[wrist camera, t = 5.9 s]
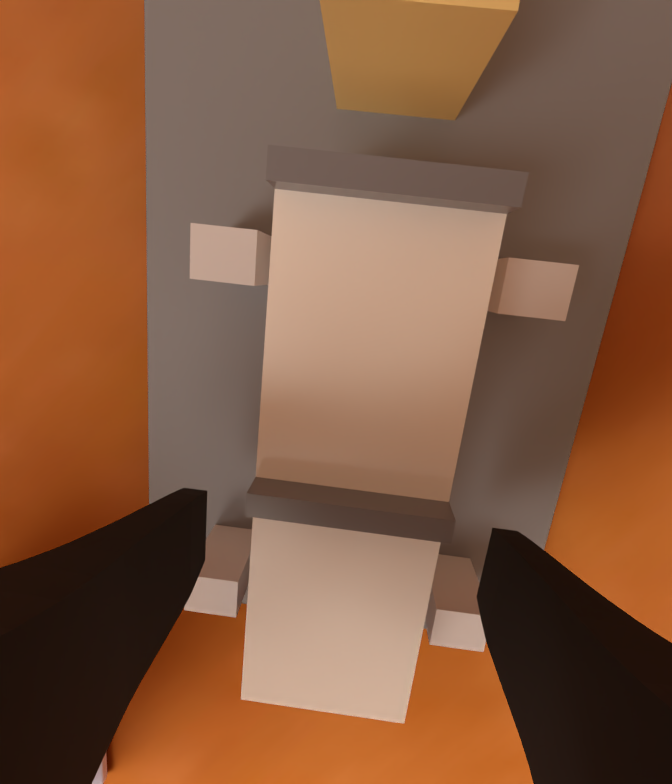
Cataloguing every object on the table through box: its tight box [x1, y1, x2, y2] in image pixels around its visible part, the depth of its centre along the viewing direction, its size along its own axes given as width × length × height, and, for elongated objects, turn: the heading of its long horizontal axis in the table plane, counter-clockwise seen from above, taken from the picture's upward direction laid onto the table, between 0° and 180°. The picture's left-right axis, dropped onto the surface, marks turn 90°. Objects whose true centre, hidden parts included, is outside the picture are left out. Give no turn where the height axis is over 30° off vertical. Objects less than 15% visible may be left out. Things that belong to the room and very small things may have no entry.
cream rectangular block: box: [241, 145, 529, 724], centre depth 11 cm, size 12×4×5 cm, turn 174°
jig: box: [144, 0, 672, 652], centre depth 12 cm, size 20×13×4 cm, turn 174°
